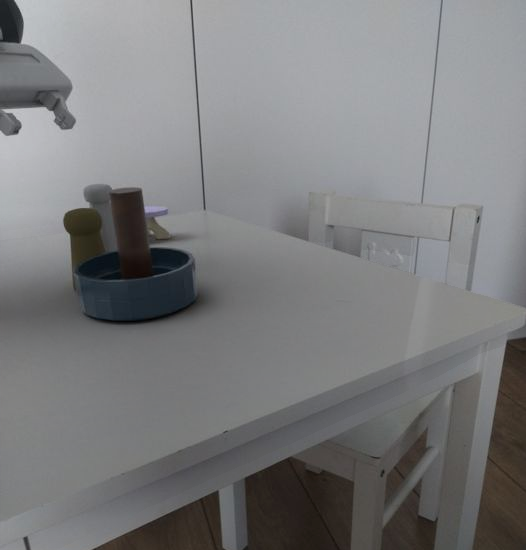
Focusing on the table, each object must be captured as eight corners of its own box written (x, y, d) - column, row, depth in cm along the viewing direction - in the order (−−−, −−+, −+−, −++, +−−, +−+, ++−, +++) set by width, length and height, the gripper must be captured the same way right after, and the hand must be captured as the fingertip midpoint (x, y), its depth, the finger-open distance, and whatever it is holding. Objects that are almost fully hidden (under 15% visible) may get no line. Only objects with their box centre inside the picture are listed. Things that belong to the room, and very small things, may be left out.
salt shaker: (84, 273, 89) (68, 188, 84) (104, 262, 94) (90, 181, 89) (117, 274, 88) (103, 188, 82) (135, 264, 93) (123, 181, 87)
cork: (66, 285, 84) (51, 210, 79) (104, 275, 88) (91, 203, 83) (83, 294, 80) (68, 215, 75) (122, 284, 83) (110, 208, 79)
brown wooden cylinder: (122, 303, 74) (104, 193, 68) (130, 293, 78) (114, 187, 72) (152, 303, 74) (137, 192, 68) (159, 292, 77) (145, 186, 71)
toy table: (111, 246, 104) (106, 214, 101) (128, 234, 112) (123, 204, 109) (163, 245, 102) (159, 213, 100) (176, 233, 110) (173, 203, 108)
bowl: (63, 325, 69) (54, 282, 67) (102, 285, 83) (96, 248, 81) (186, 323, 68) (181, 279, 66) (205, 282, 82) (202, 245, 80)
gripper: (15, 64, 77) (86, 141, 78) (-127, 59, 60) (-34, 157, 60) (35, 24, 74) (109, 104, 74) (-110, 6, 56) (-12, 110, 57)
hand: (44, 128), depth 67 cm, fingers open, 8 cm apart
